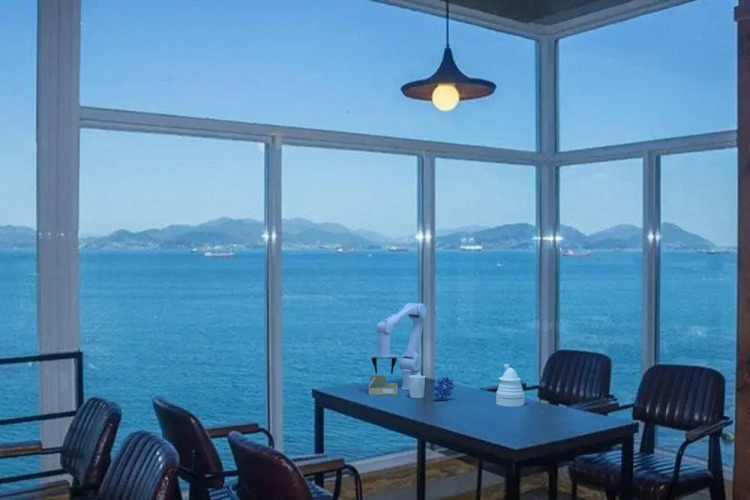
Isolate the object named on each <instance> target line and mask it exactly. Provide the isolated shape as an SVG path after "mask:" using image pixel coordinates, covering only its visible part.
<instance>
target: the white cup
mask: <svg viewBox="0 0 750 500" xmlns="http://www.w3.org/2000/svg"><path fill="white" fill-rule="evenodd" d="M425 384H426V376H425V375H422V374H420V375H411V376H409V398H412V399H423V398H424V397H425V386H426V385H425Z"/></svg>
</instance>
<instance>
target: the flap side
mask: <svg viewBox="0 0 750 500" xmlns="http://www.w3.org/2000/svg"><path fill="white" fill-rule="evenodd" d="M375 376H376V377H375ZM374 377H375V380H374V381H373V383H387V375H386V374H385V375H383V374H370V377H369V378H370V382H371V381H372V380H373V378H374ZM370 382H369V383H370Z"/></svg>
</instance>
